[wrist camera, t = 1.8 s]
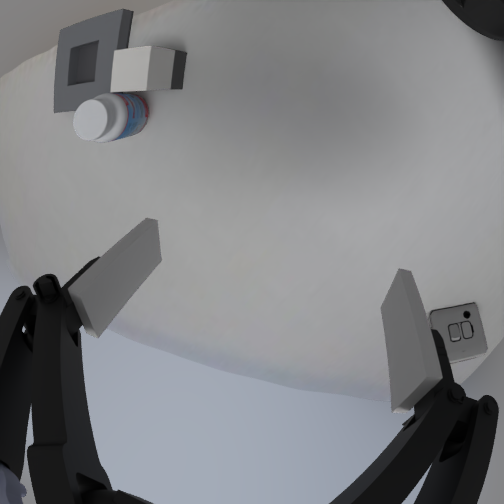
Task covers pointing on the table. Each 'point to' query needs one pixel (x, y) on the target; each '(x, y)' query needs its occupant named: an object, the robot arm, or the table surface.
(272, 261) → the table surface
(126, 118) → the pill bottle
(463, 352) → the electrical switch
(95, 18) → the socket plate
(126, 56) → the plug
